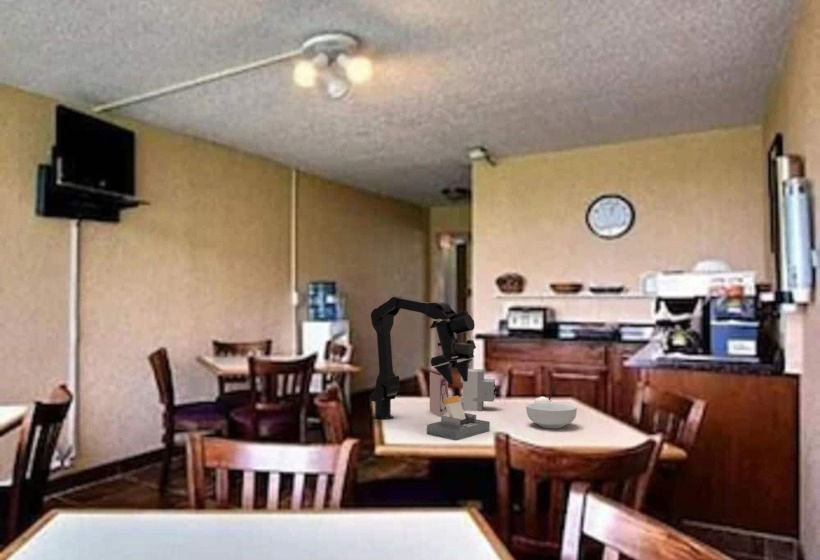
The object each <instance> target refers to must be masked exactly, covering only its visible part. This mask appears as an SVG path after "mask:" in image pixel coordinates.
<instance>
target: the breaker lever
mask: <svg viewBox="0 0 820 560" xmlns="http://www.w3.org/2000/svg"><path fill="white" fill-rule="evenodd" d="M460 401H461V397H460V396H459V395H454V396H453V395H452V396H448V398H445V399H443V402H444V405H445V406H446V409H447V412H446V413H447V414H448V417H453V418H458V419H460V422H462V421H466V417H465V414H464V413H465V410H463V408H462V405H461V403H460Z"/></svg>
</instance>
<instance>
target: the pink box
mask: <svg viewBox="0 0 820 560" xmlns="http://www.w3.org/2000/svg"><path fill="white" fill-rule="evenodd" d="M448 397H449V383H448V382H447V381H446V380H445V378H444V377H443V376H442V375H441V374H440V375H438V374H436V373H434V372H432V371H429V412H431V413H432V414H433V415H436V416H437V417H438V418H441V416H444V414H446V413H448V412H447V409H446V406H445V405H444V402H443V399H445V398H448Z"/></svg>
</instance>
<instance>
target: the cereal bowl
mask: <svg viewBox="0 0 820 560" xmlns="http://www.w3.org/2000/svg"><path fill="white" fill-rule="evenodd" d="M525 409H526V414H527V415H526V416H527V417H528V419H529V420H530V421H532V422H533V423H535V424H538V425H539V426H540V427H541V428H545V429H553V430H554V429H561V428H563V427H564V426H566V425H569V424H571V423H573V422H574V421H575V419H576V417H577V406H576V405H573V404H571V403H566V402H565V403H563V402H556V401H555V402H552V401H551V402H538V403H535V402H532V403H528V404H526V407H525Z"/></svg>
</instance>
